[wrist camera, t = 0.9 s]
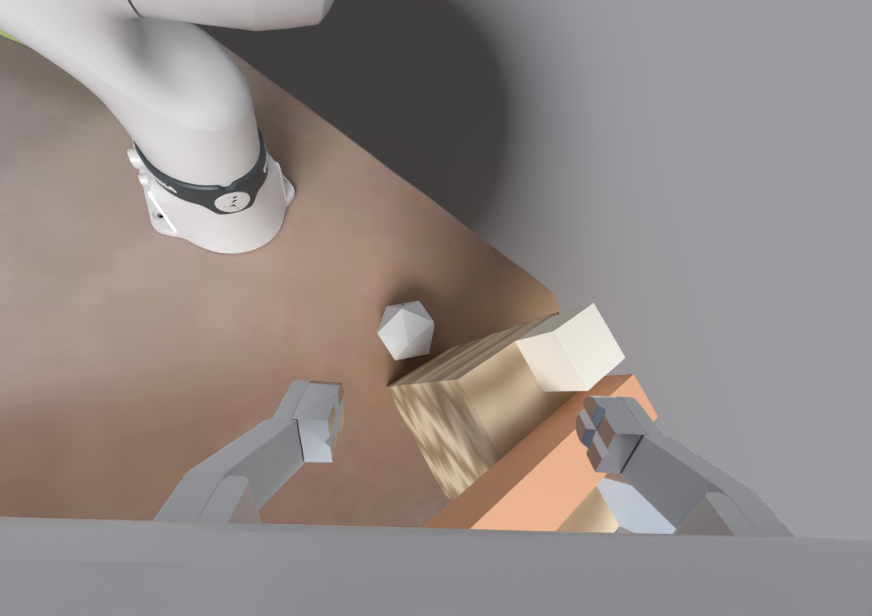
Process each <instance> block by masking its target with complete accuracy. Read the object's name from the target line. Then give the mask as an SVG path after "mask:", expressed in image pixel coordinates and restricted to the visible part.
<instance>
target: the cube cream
mask: <svg viewBox="0 0 872 616" xmlns="http://www.w3.org/2000/svg"><path fill="white" fill-rule="evenodd" d="M515 342H516V344H517V346H518V348H519V349H520V351H521V353H522V355H523V357H524V358H525V360H526V362H527V364H528V365H529V367H530V369H531V371H532V373H533V374H534V376H535V378H536V380H537V381H538V383H539V385H540V387H541V388H542V390H543V392H550V391H588V390H589V389H591V388H592V387H593V386H594V385H595V384H596V383H597V382H598V381H600V380H601V379H602V378H603V377H604V376H605V375H606V374H607V373H609V372H610V371H611V370H612V369H613V368H614V367H615V366H616V365H618V364H619V363H620V362H621V361H622V360H623V359H624V358H625V356H624V355H623V353H622V351H621V350H620V348H619V346H618V344H617V343H616V341H615V339H614V337H613V336H612V334H611V332H610V331H609V329H608V327H607V326H606V324H605V322H604V320H603V318H602V317H601V315H600V313H599V312H598V310H597V308H596V306H595V305H594V303H592V304H589V305H586V306H583V307H580V308H577V309H574V310H571V311H568V312H565V313H561V314H558V315H555V316H552V317H550V318H549V319H547V320H546V321H544V322H543V323H541V324H540V325H538V326H537V327H535V328H534V329H532V330H531V331H529V332H528V333H526V334H525V335H523V336H522V337H521V338H519V339H518V340H516V341H515Z"/></svg>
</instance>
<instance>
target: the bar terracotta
mask: <svg viewBox="0 0 872 616" xmlns="http://www.w3.org/2000/svg"><path fill="white" fill-rule="evenodd" d="M587 396H609V397H633V398H634V399H636V400H637V401H638V403H639V404H640V405H641V407H642V408H643V409H644V410H645V412H646V413H647V414H648V416H649V417H650V418H651V420H652V421H653V422H654V420H655V419H656V418H657V417H658V416H657V414H656V412H655V410H654V409H653V407H652V405H651V404H650V402H649V400H648V398H647V397H646V395H645V393H644V391H643V390H642V388H641V386H640V385H639V383H638V381H637V379H636V378H635V376H634V374H628V375H612V376H604V377H603V378H602V379H601V380H600V381H598V382H597V383H596V384H595V385H594V386H593V387H592V388H591V389H589V390H588V391H578V392H577V393H576V394H575V395H574V396H572V397H571V398H570V399H569V400H568V401H567V402H566V403H564V404H563V405H562V406H561V407H560V408H559V409H558V410H556V411H555V412H554V413H553V414H552V415H551V416H550V417H548V418H547V419H546V420H545V421H544V422H543V423H541V424H540V425H539V426H538V427H537V428H536V429H535V430H533V431H532V432H531V433H530V434H529V435H528V436H527V437H525V438H524V439H523V440H522V441H521V442H520V443H519V444H517V445H516V446H515V447H514V448H513V449H512V450H510V451H509V452H508V453H507V454H506V455H505V456H504V457H502V458H501V459H500V460H499V461H498V462H497V463H496V464H494V465H493V466H492V467H491V468H490V469H489V470H488V471H486V472H485V473H484V474H483V475H482V476H481V477H480V478H478V479H477V480H476V481H475V482H474V483H473V484H471V485H470V486H469V487H468V488H467V489H466V490H465V491H463V492H462V493H461V494H460V495H459V496H458V497H457V498H455V499H454V500H453V501H452V502H451V503H450V504H449V505H447V506H446V507H445V508H444V509H443V510H442V511H440V512H439V513H438V514H437V515H436V516H435V517H434V518H432V519H431V520H430V521H429V522H428V523H427V524H426V525H424V526H423V527H422V528H451V529H489V530H529V531H556V530H557V529H558V528H559V527H560V525H561V524H562V523H563V522H564V521H565V520H566V519H567V518H568V517H569V515H570V514H571V513H572V512H573V511H574V510H575V509H576V508H577V506H578V505H579V504H580V503H581V502H582V501H583V500H584V499H585V498H586V496H587V495H588V494H589V493H590V492H591V491H592V490H593V489H594V487H595V486H596V485H597V484H598V483H599V482H600V481H601V480H602V479H603V477H604V476H605V475H606V474H607V473H600V472H595V471H594V469H593V467H592V465H591V463H590V461H589V459H588V457H587V455H586V452H587V449H588V448H587V447H586V446H585V445H584V444H582V443H581V442H580V440H579V438H578V436H577V432H576V419H577V416H578V413H580V412H581V411H583V410H584V409H585V408H584V406H583V402H584V399H585V398H586V397H587Z"/></svg>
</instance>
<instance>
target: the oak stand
mask: <svg viewBox="0 0 872 616" xmlns="http://www.w3.org/2000/svg"><path fill="white" fill-rule="evenodd" d="M558 314H559V312H557V313H554V314H551V315H548V316H545V317H542V318H539V319H536V320H533V321H530V322H527V323H524V324H521V325H518V326H515V327H512V328H509V329H506V330H503V331H500V332H497V333H494V334H491V335H488V336H485V337H482V338H479V339H476V340H473V341H470V342H467V343H464V344H461V345H458V346H455V347H452V348H450V349H448V350H446V351H445V352H443V353H441V354H440V355H438V356H437V357H435V358H433V359H432V360H430V361H428V362H427V363H425V364H423V365H422V366H420V367H418V368H417V369H415V370H414V371H412V372H410V373H409V374H407V375H405V376H404V377H402V378H400V379H399V380H397V381H395V382H394V383H392V384H391V385H389V386H387V389H388V391H389V393H390V395H391V397H392V399H393V400H394V402H395V404H396V406H397V408H398V410H399V411H400V413H401V415H402V417H403V419H404V421H405V423H406V424H407V426H408V428H409V430H410V432H411V434H412V436H413V437H414V439H415V441H416V443H417V445H418V447H419V448H420V450H421V452H422V454H423V456H424V458H425V460H426V461H427V463H428V465H429V467H430V469H431V471H432V472H433V474H434V476H435V478H436V480H437V482H438V484H439V485H440V487H441V489H442V491H443V493H444V494H445V495H446V496H448V497H449V498H451V499H452V500H454V499H455V498H457V497H458V496H459V495H460V494H461V493H462V492H463V491H465V490H466V489H467V488H468V487H469V486H470V485H471V484H473V483H474V482H475V481H476V480H477V479H478V478H480V477H481V476H482V475H483V474H484V473H485V472H486V471H488V470H489V469H490V468H491V467H492V466H493V465H494V464H496V463H497V462H498V461H499V460H500V459H501V458H502V457H504V456H505V455H506V454H507V453H508V452H509V451H510V450H512V449H513V448H514V447H515V446H516V445H517V444H519V443H520V442H521V441H522V440H523V439H524V438H525V437H527V436H528V435H529V434H530V433H531V432H532V431H533V430H535V429H536V428H537V427H538V426H539V425H540V424H541V423H543V422H544V421H545V420H546V419H547V418H548V417H550V416H551V415H552V414H553V413H554V412H555V411H556V410H558V409H559V408H560V407H561V406H562V405H563V404H564V403H566V402H567V401H568V400H569V399H570V398H571V397H572V396H574V395H575V394H576V393H577V392H578V391H550V392H543V390H542V388H541V387H540V385H539V383H538V381H537V380H536V378H535V376H534V374H533V373H532V371H531V369H530V367H529V365H528V364H527V362H526V360H525V358H524V357H523V355H522V353H521V351H520V349H519V348H518V346H517V344H516V342H515V341H516V340H518V339H519V338H521V337H522V336H523V335H525V334H526V333H528V332H529V331H531V330H532V329H534V328H535V327H537V326H538V325H540V324H541V323H543V322H544V321H546V320H547V319H549V318H550V317H552V316H555V315H558ZM618 527H619V525H618V523H617V521H616V520H615V518H614V516H613V514H612V513H611V511H610V509H609V507H608V505H607V504H606V502H605V500H604V498H603V497H602V495H601V493H600V491H599V489H598V488H597V486H595V487H594V489H593V490H592V491H591V492H590V493H589V494H588V495H587V496H586V498H585V499H584V500H583V501H582V502H581V503H580V504H579V505H578V506H577V508H576V509H575V510H574V511H573V512H572V513H571V514H570V515H569V517H568V518H567V519H566V520H565V521H564V522H563V523H562V524H561V525H560V527H559V528H558V529H557V530H556V531H569V532H610V533H614V532H615V531H616V530H617V528H618Z"/></svg>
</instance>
